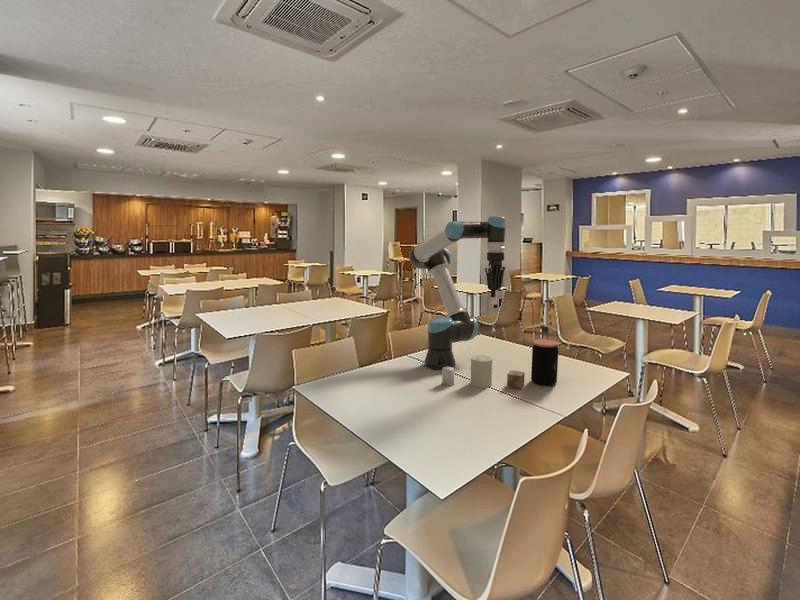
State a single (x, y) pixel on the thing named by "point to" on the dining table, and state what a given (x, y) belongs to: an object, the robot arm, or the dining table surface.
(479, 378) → the can
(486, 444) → the dining table surface
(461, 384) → the dining table surface
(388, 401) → the dining table surface
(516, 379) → the walnut block
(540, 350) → the coffee jar
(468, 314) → the robot arm
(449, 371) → the grey cylinder
